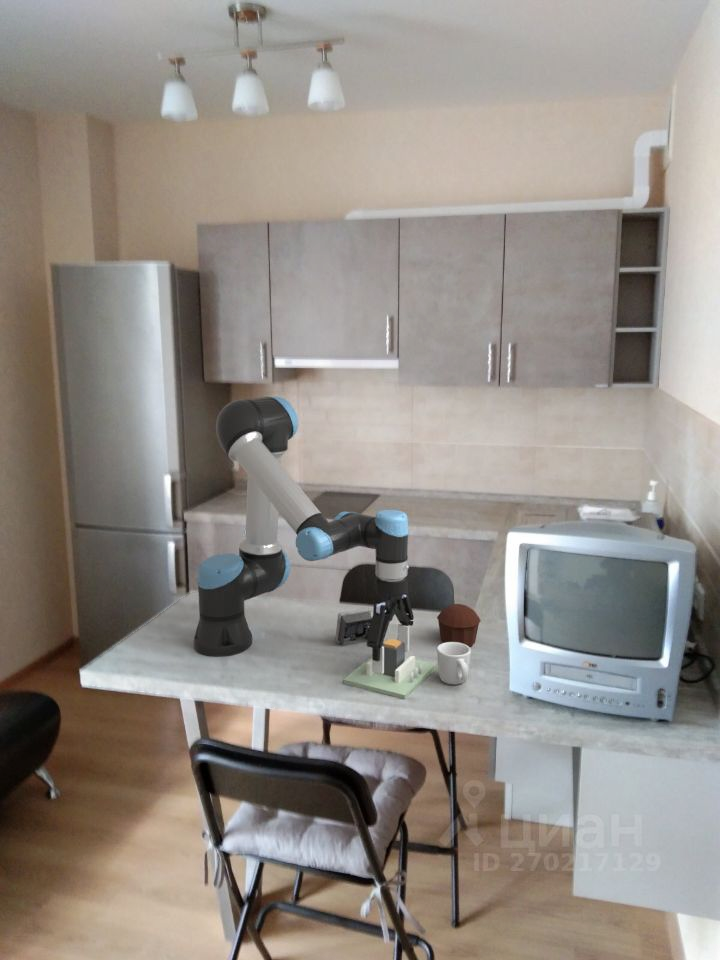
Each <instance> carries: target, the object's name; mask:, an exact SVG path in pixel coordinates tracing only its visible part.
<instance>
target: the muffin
mask: <svg viewBox="0 0 720 960" xmlns="http://www.w3.org/2000/svg"><path fill="white" fill-rule="evenodd" d="M436 618H437V622H438V627H439V635H440V641H441V644H442V643H446V642H458V643H462V644H465V645H467V646H468V647H470V648H472V647H473V646H474V645H475V644H476V640H477V634H478V630H479V624H480V622H481V621H482V620H481V618H480V616H478V614H477V612H476V611H475V610H474V609H473V608H471V607H469V606H468V605H466V604H463V603H462V604H461V603H453V604H450V605H447V606H445V607H444V608H443V609H442V610H441V611H440V612H439V614H438V615H437V617H436Z"/></svg>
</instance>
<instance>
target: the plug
mask: <svg viewBox="0 0 720 960" xmlns="http://www.w3.org/2000/svg"><path fill="white" fill-rule="evenodd" d="M382 646H384V673H383V675H387V676H391V677H395V670H396V669H397V668H398V667H399V666H400V665H402V664H403V663H404V662H405V657H406V656H405V655H406V652H405V643H402V642H401V641H398V639H394V638H393V639H392V638H388V639H387V640H385V641H383V644H382Z"/></svg>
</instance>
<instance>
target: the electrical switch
mask: <svg viewBox="0 0 720 960" xmlns="http://www.w3.org/2000/svg"><path fill="white" fill-rule="evenodd" d="M372 613H373V612H372V610H371V609H370V608H369V607H366V608H361V609H352V610H348V611H342V612H339V613H338V614H337V621H336V622H337V623H336V630H335V637H334V639H335V642H336V643H340V644H341V645H342V647H347V646H352V645H357V644H363V643H367V641H368V636H369V631H370V626H371V622H372V617H373V616H372Z"/></svg>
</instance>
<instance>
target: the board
mask: <svg viewBox="0 0 720 960" xmlns="http://www.w3.org/2000/svg"><path fill="white" fill-rule="evenodd" d="M437 667H438V663H433V662H429V661H424V660H420V659H416V656H414V655H410V656H409V657H406V656H405V662H404V663H403V664H402V665H400V666H399V667H398V668H397V669H396V670H395V677H391V676H387V675H383V674H380V673H376V672H372V656H371V657H369V658H368V659H367V660H366V661H364V662H363V663H362V664H361V665H359V666H357V668H356V669H355V670H353V671H352V672H351V673H350V674H348V675H347V676H346V677H344V679H343V684H345V685H347V686H352V687H356V688H360V689H364V690H367V691H370V692H376V693H379V694H383V695H387V696H390V697H395V698H397V699H398V698H399V699H403V700H406V699H407V697H409V696H410V695H411V694H412V693H413V692H414V691H415V690H416V689H417V688H419V686H420V685H421V684H422V683H423V682H424V681H425V680H426V679H427V678H428V677H429V676H430V675H431V674H432V673H433V672H434V671H435V670H436V669H437ZM411 692H412V693H411ZM408 695H409V696H408Z"/></svg>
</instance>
